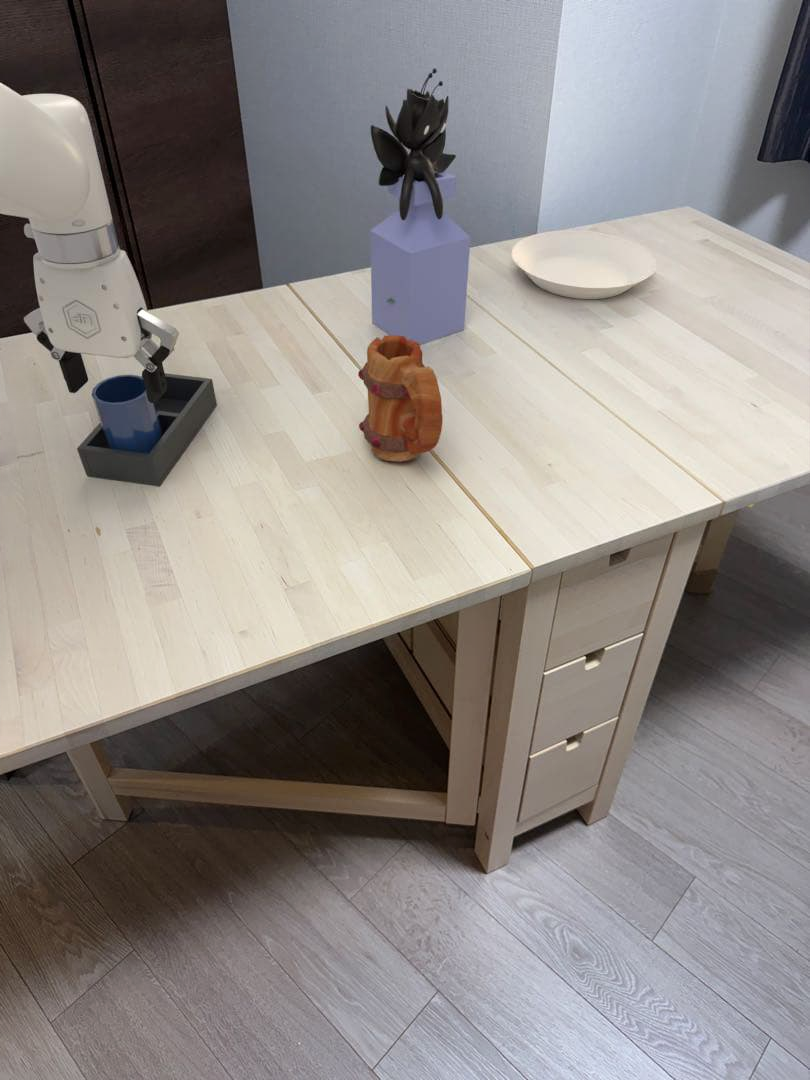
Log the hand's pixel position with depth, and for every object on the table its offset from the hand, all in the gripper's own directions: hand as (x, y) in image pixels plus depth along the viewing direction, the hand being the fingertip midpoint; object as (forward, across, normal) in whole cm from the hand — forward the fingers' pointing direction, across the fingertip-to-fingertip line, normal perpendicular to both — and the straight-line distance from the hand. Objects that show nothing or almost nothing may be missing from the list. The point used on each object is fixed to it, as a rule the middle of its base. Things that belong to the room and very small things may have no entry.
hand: (118, 392), depth 85 cm
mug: (+10, +32, +7) cm, 34 cm away
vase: (+9, +27, +42) cm, 51 cm away
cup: (+9, 0, +1) cm, 9 cm away
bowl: (+8, +52, +67) cm, 85 cm away
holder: (+10, 0, +5) cm, 11 cm away
